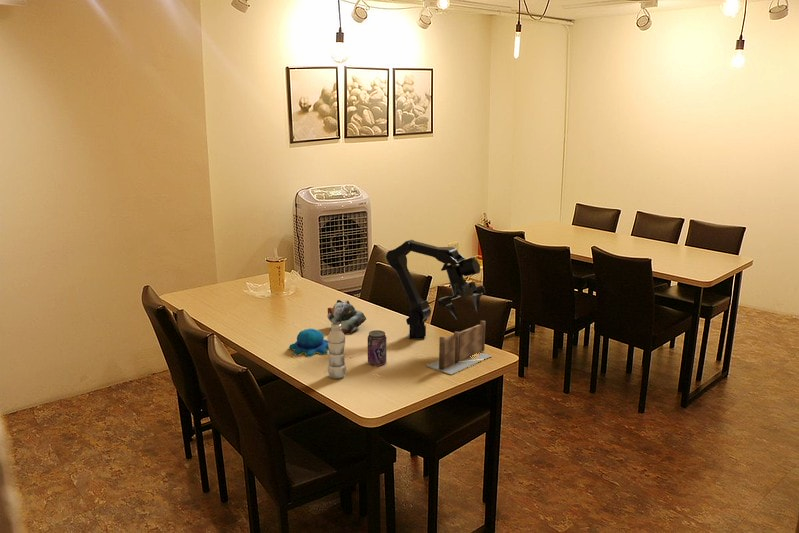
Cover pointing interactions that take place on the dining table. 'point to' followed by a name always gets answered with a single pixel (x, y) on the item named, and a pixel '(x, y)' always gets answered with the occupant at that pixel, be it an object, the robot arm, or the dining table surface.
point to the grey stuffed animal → (346, 316)
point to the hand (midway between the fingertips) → (467, 316)
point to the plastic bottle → (336, 351)
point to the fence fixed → (448, 350)
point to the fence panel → (471, 341)
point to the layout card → (459, 364)
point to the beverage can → (377, 347)
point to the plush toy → (310, 343)
